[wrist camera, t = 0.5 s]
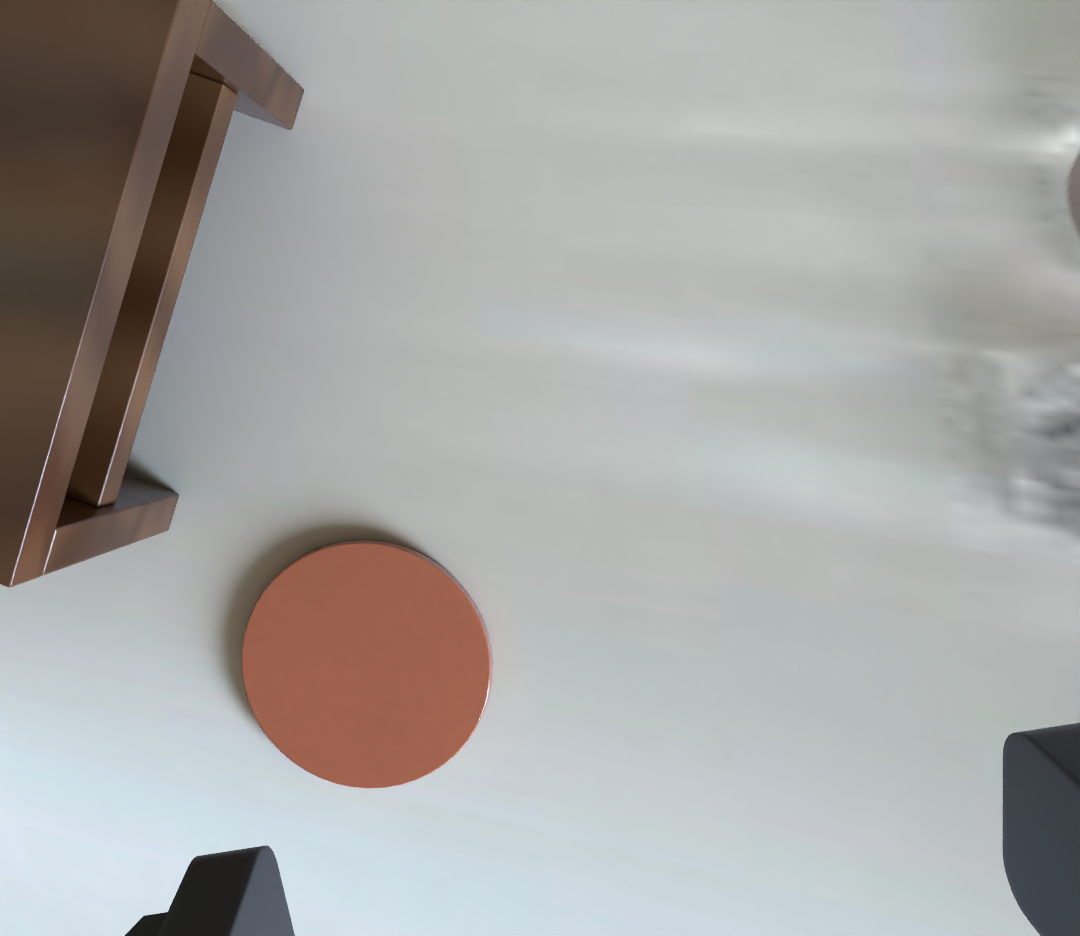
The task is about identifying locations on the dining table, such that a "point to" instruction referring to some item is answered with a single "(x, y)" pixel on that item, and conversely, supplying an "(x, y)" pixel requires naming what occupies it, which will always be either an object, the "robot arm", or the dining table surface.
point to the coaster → (367, 664)
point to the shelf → (102, 247)
